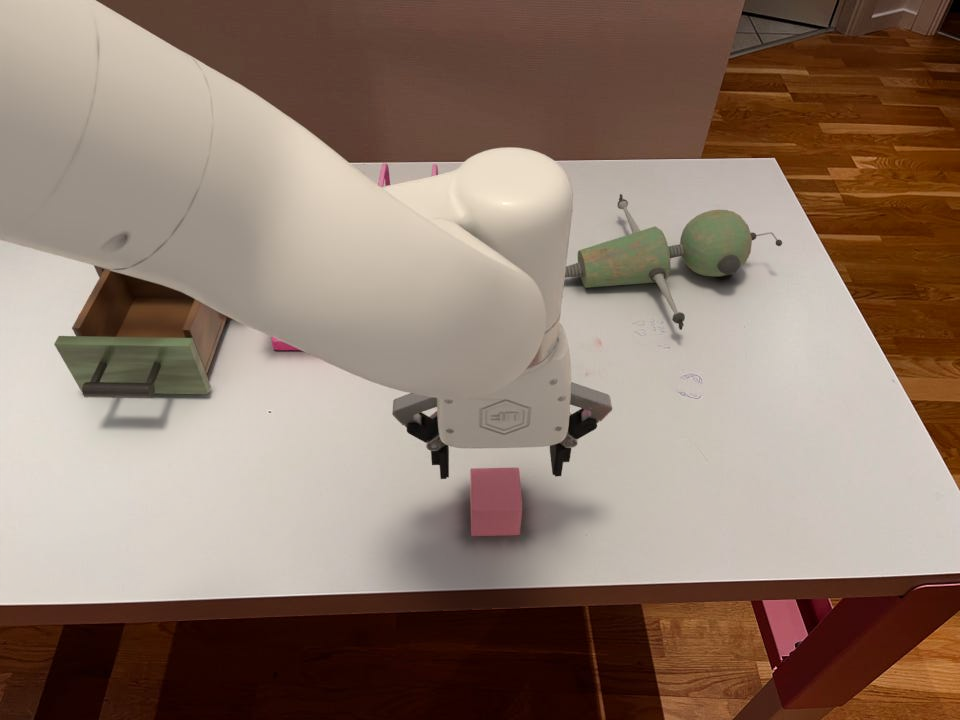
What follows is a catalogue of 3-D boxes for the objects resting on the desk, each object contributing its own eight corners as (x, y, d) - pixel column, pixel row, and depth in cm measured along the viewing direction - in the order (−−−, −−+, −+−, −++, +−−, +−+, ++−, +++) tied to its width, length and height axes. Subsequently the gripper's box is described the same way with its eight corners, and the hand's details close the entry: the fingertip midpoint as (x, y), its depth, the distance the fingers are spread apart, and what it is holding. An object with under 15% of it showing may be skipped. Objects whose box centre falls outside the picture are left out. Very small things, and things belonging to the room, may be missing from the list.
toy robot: (722, 367, 84) (740, 312, 78) (533, 292, 93) (535, 238, 86) (773, 269, 95) (793, 214, 89) (600, 210, 104) (607, 157, 98)
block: (519, 535, 68) (522, 509, 65) (471, 536, 68) (471, 510, 65) (516, 494, 72) (519, 467, 68) (470, 495, 71) (470, 468, 68)
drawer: (197, 425, 76) (176, 378, 70) (65, 423, 76) (35, 376, 70) (239, 302, 88) (225, 254, 83) (127, 300, 88) (105, 252, 83)
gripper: (378, 365, 49) (398, 503, 62) (637, 360, 49) (605, 498, 62) (384, 289, 54) (402, 431, 67) (620, 285, 54) (593, 427, 67)
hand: (500, 463), depth 64 cm, fingers open, 9 cm apart
